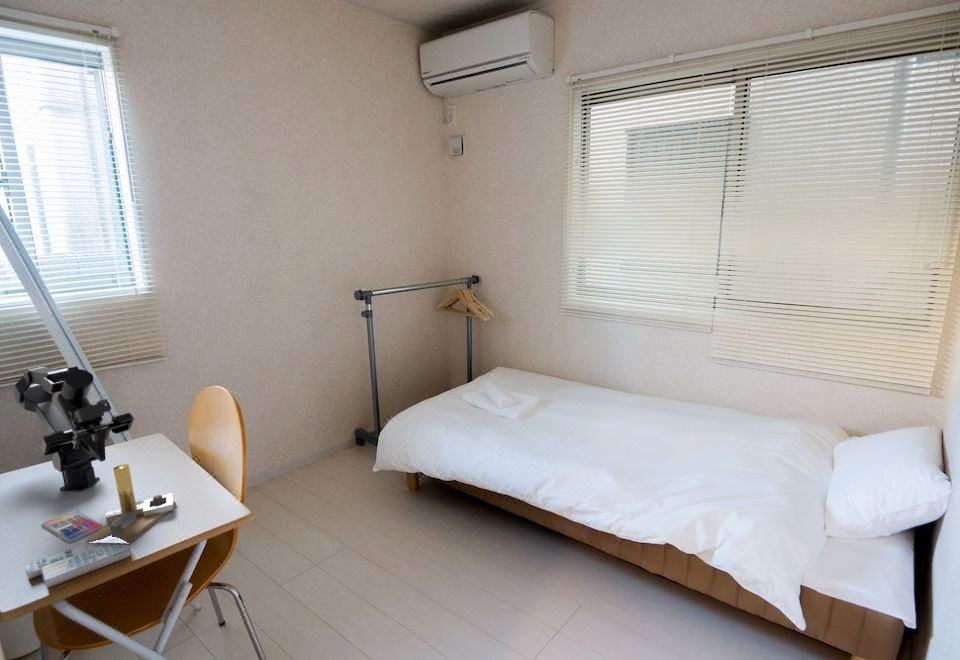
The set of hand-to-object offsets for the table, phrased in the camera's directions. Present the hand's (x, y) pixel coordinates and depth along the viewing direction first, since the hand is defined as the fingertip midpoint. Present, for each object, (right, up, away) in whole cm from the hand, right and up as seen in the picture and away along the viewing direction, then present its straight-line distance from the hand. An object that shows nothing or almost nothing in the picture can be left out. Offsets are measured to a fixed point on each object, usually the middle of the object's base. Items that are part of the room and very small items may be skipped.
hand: (103, 460), depth 129 cm
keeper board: (+11, -14, -5) cm, 18 cm away
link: (+11, -12, -3) cm, 16 cm away
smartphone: (-3, -15, -6) cm, 16 cm away
